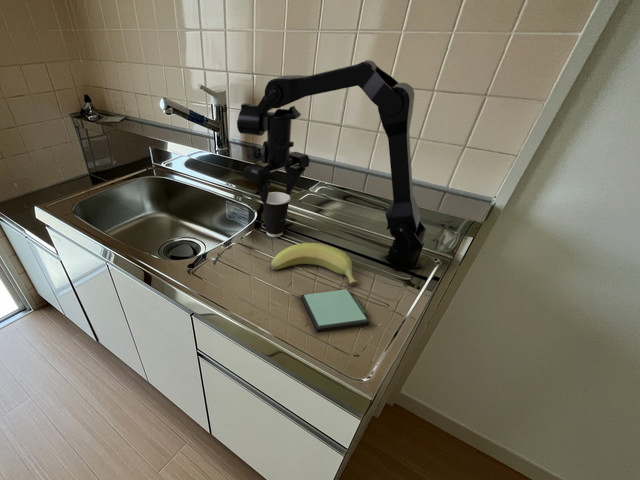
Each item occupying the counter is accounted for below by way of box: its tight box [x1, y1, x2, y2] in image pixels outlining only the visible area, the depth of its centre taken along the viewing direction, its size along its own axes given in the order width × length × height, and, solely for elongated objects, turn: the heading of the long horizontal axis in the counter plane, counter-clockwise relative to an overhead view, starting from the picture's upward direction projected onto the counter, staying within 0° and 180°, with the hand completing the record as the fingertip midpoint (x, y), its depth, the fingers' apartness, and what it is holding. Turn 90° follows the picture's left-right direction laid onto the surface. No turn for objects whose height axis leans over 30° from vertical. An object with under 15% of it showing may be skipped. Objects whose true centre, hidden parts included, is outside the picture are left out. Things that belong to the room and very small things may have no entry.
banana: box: [270, 242, 358, 287], centre depth 83 cm, size 14×6×20 cm
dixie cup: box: [262, 191, 292, 238], centre depth 97 cm, size 8×8×11 cm
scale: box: [300, 288, 370, 334], centre depth 72 cm, size 12×11×2 cm
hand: (276, 198), depth 93 cm, fingers open, 9 cm apart
